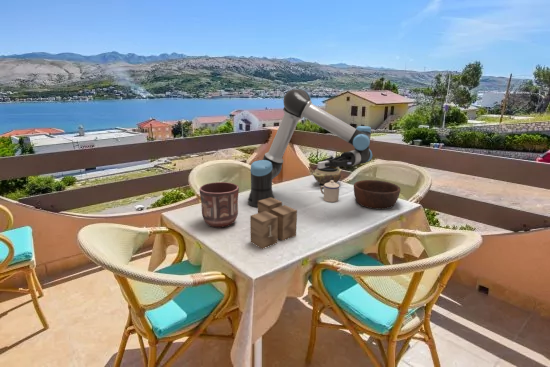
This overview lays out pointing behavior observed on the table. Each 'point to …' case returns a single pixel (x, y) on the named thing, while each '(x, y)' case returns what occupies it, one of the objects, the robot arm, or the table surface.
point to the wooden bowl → (376, 194)
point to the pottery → (219, 203)
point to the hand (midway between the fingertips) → (318, 165)
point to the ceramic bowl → (327, 175)
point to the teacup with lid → (330, 191)
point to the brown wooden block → (285, 221)
